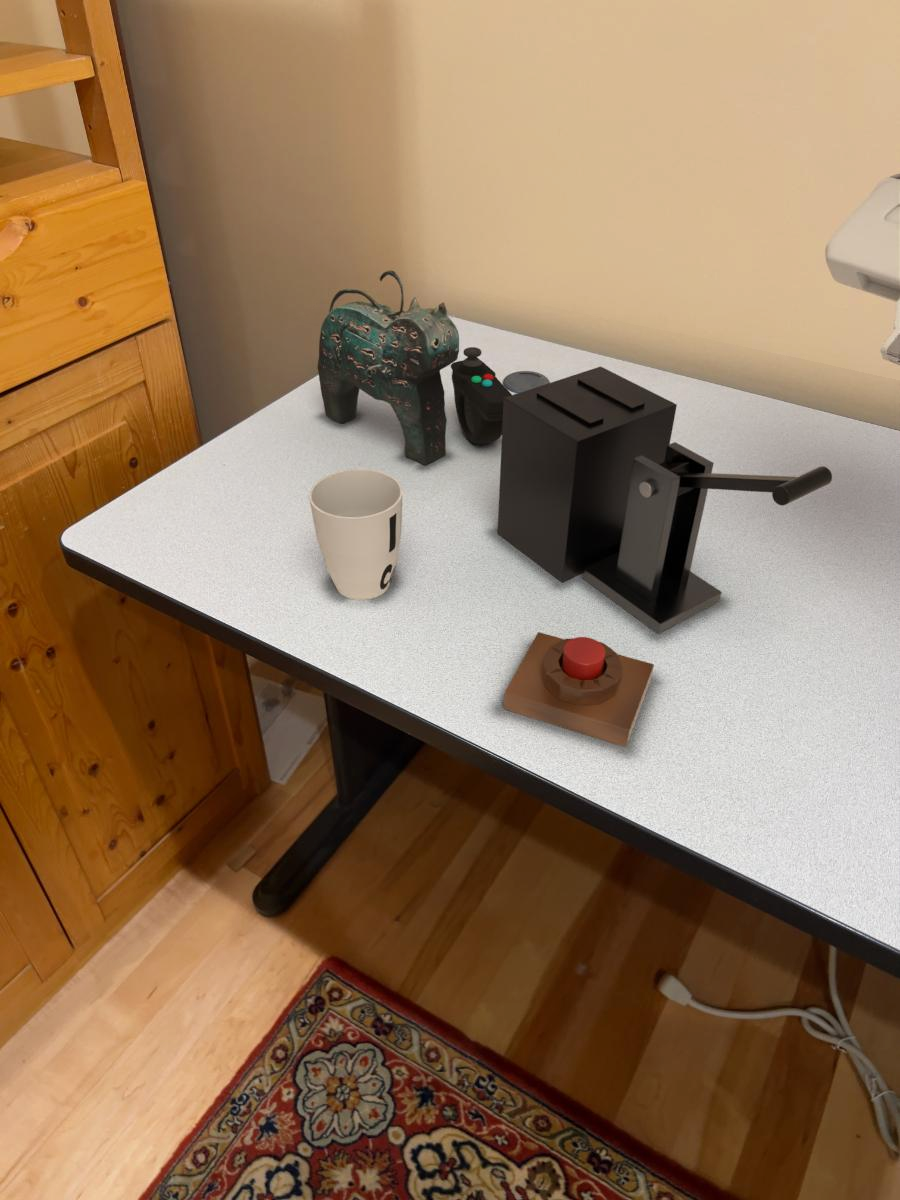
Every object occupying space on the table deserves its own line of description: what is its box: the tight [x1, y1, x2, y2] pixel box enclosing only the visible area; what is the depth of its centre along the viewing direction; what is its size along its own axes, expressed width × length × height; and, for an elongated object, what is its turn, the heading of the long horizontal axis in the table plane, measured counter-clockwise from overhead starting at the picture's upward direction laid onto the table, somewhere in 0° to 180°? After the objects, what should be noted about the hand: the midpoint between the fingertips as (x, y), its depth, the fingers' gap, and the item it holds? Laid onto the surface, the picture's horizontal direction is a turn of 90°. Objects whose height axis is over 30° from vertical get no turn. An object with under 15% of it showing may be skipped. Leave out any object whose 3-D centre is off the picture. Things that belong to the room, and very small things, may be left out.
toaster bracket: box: [581, 441, 722, 635], centre depth 78 cm, size 10×8×14 cm
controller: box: [450, 346, 513, 445], centre depth 101 cm, size 4×12×10 cm, turn 21°
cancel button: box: [562, 636, 605, 680], centre depth 69 cm, size 3×3×2 cm
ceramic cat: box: [317, 270, 460, 466], centre depth 99 cm, size 20×6×20 cm, turn 46°
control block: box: [503, 631, 655, 748], centre depth 71 cm, size 10×8×4 cm
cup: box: [308, 468, 403, 601], centre depth 80 cm, size 8×8×10 cm
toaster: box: [496, 366, 678, 584], centre depth 84 cm, size 10×12×15 cm
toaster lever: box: [658, 462, 833, 507], centre depth 70 cm, size 15×5×2 cm, turn 36°
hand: (899, 362), depth 63 cm, fingers closed
